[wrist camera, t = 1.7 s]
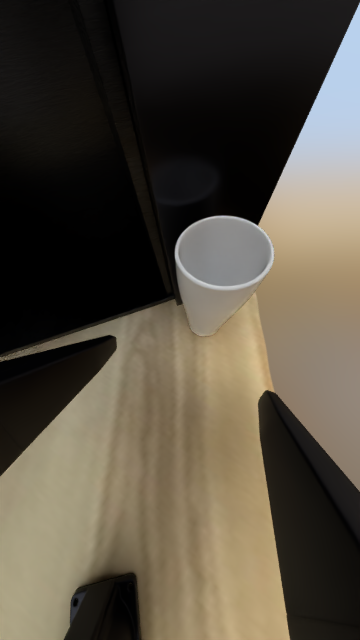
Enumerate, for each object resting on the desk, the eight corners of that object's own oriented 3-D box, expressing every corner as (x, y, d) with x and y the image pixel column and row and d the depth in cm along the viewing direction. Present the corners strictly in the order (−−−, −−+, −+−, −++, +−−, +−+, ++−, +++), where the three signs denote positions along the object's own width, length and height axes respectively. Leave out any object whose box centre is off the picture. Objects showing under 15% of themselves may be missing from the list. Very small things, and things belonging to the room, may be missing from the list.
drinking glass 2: (179, 310, 24) (162, 227, 10) (215, 299, 25) (247, 204, 11) (190, 347, 22) (190, 304, 8) (231, 334, 22) (299, 272, 8)
